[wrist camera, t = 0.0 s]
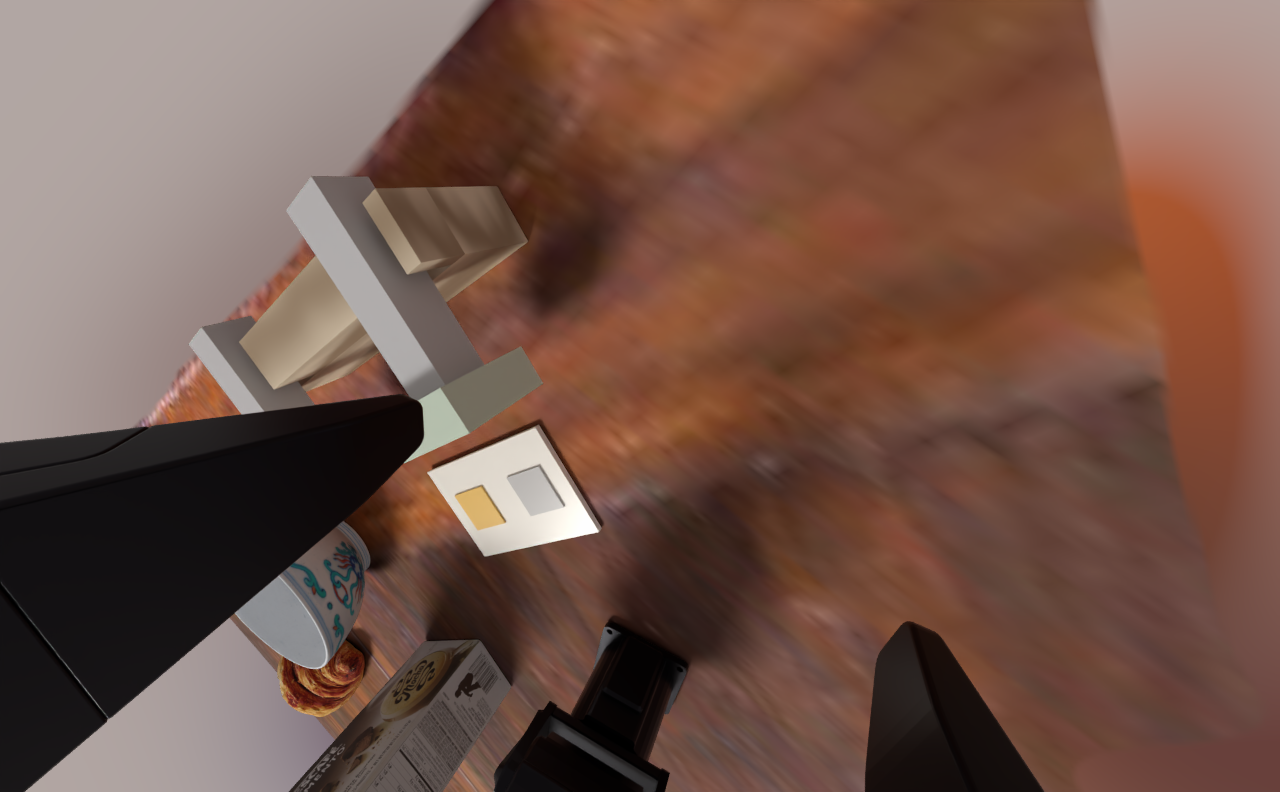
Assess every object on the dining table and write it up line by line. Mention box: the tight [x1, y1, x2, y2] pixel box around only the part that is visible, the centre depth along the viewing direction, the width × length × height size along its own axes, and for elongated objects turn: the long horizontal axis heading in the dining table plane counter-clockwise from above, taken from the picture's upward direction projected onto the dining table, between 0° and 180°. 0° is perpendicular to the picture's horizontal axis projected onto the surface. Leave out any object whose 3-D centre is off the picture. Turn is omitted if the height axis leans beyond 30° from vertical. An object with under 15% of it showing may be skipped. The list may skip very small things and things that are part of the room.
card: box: [427, 425, 601, 556], centre depth 32 cm, size 8×12×1 cm, turn 121°
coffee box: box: [289, 640, 511, 792], centre depth 38 cm, size 9×6×16 cm
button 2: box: [189, 316, 315, 414], centre depth 27 cm, size 11×5×5 cm, turn 31°
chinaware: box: [235, 521, 370, 669], centre depth 42 cm, size 15×15×8 cm
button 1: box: [286, 176, 543, 463], centre depth 19 cm, size 11×5×5 cm, turn 31°
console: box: [215, 186, 528, 408], centre depth 25 cm, size 3×20×7 cm, turn 121°
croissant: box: [277, 640, 365, 717], centre depth 56 cm, size 21×10×8 cm, turn 131°
